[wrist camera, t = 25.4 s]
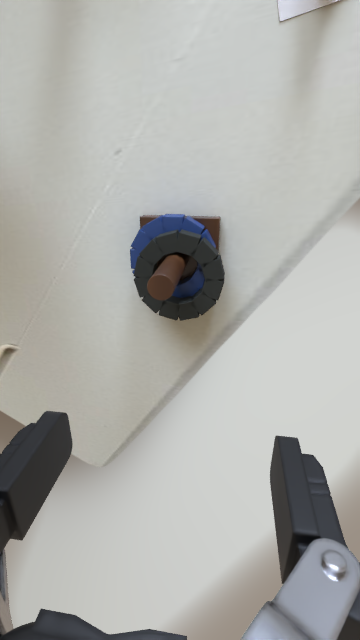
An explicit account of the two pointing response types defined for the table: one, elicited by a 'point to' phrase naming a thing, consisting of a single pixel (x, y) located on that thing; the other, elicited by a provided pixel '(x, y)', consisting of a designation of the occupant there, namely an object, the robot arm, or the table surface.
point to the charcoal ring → (189, 246)
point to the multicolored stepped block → (299, 7)
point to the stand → (177, 260)
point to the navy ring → (166, 225)
